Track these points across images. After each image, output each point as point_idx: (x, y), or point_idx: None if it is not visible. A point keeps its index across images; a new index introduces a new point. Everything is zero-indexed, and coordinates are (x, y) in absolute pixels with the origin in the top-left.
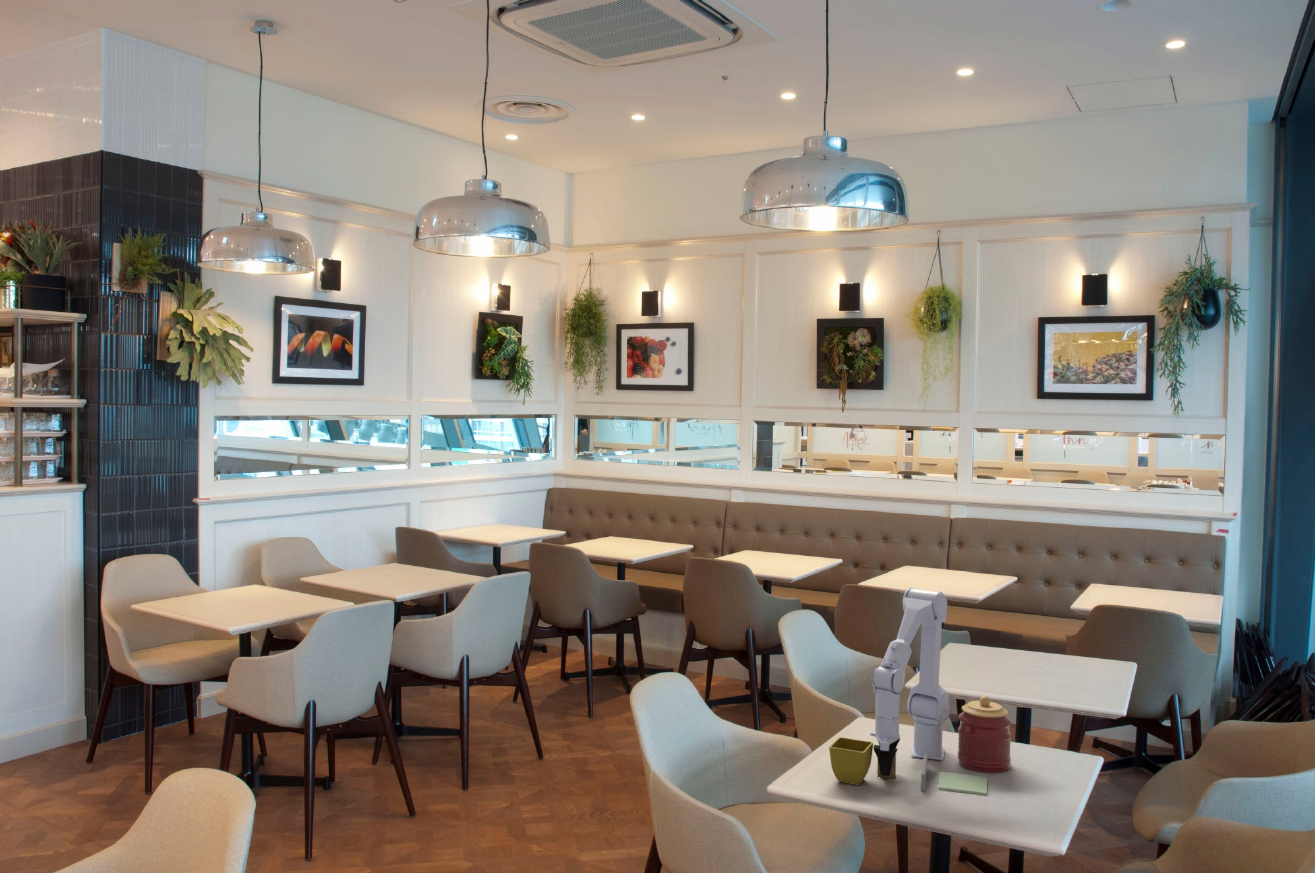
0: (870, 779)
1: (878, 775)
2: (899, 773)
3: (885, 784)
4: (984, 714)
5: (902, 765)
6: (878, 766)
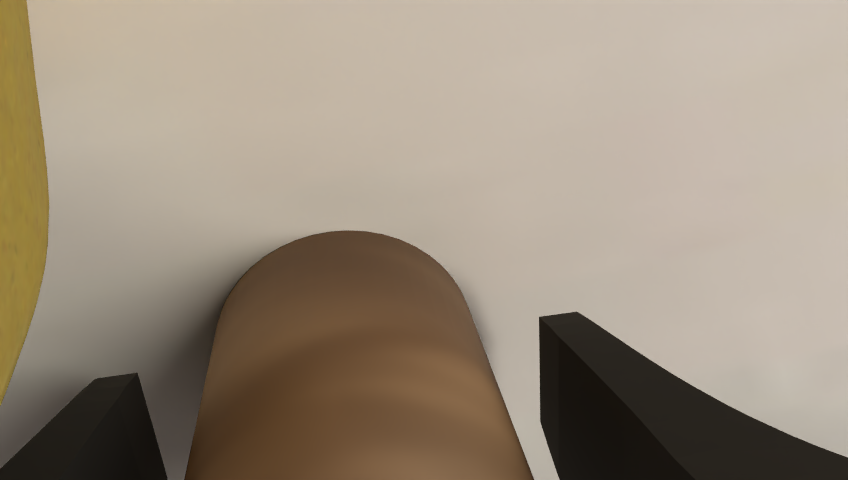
0: (79, 180)
1: (256, 272)
2: (524, 452)
3: (9, 407)
4: None
5: (819, 418)
6: (247, 348)
